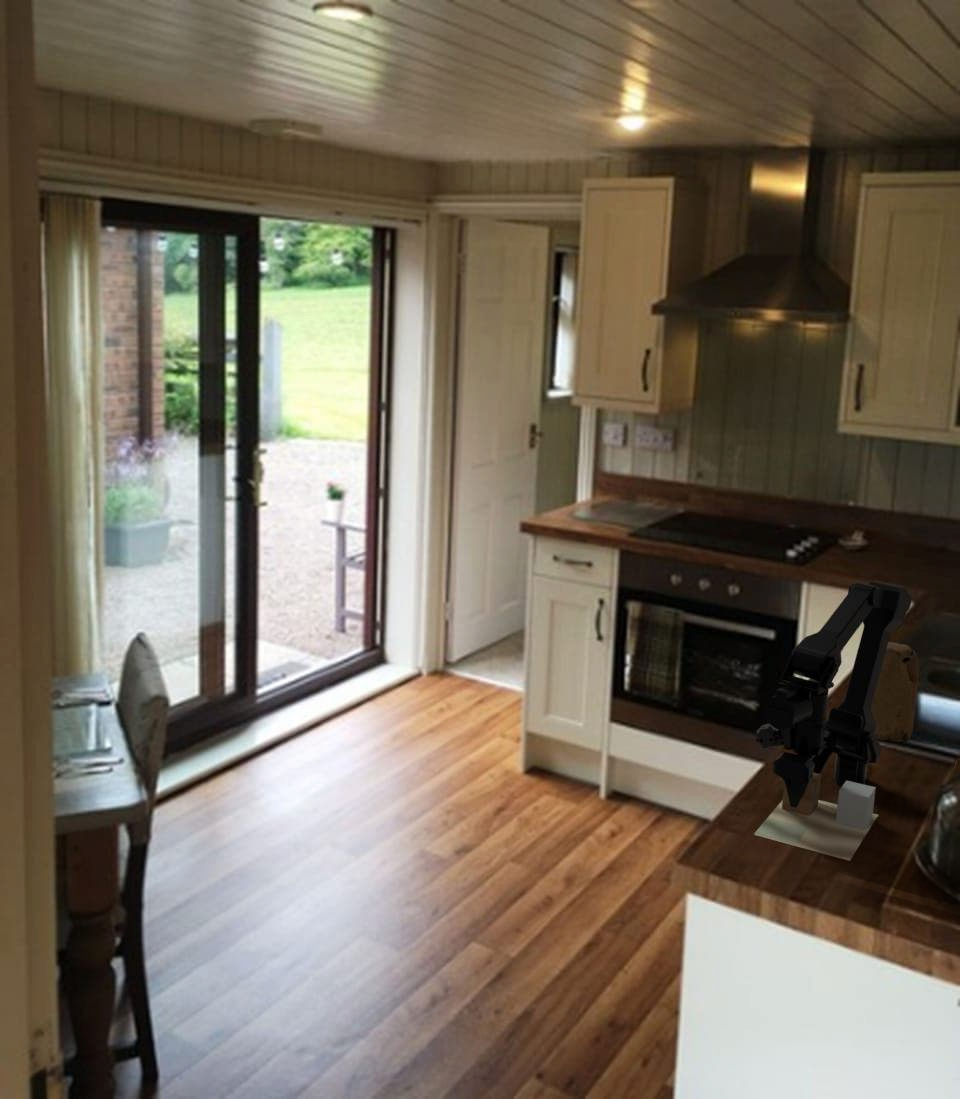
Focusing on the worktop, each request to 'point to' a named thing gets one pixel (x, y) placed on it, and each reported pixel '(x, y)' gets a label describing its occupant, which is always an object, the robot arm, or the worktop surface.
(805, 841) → the board
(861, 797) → the grey block
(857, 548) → the worktop surface
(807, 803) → the walnut block
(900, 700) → the block
